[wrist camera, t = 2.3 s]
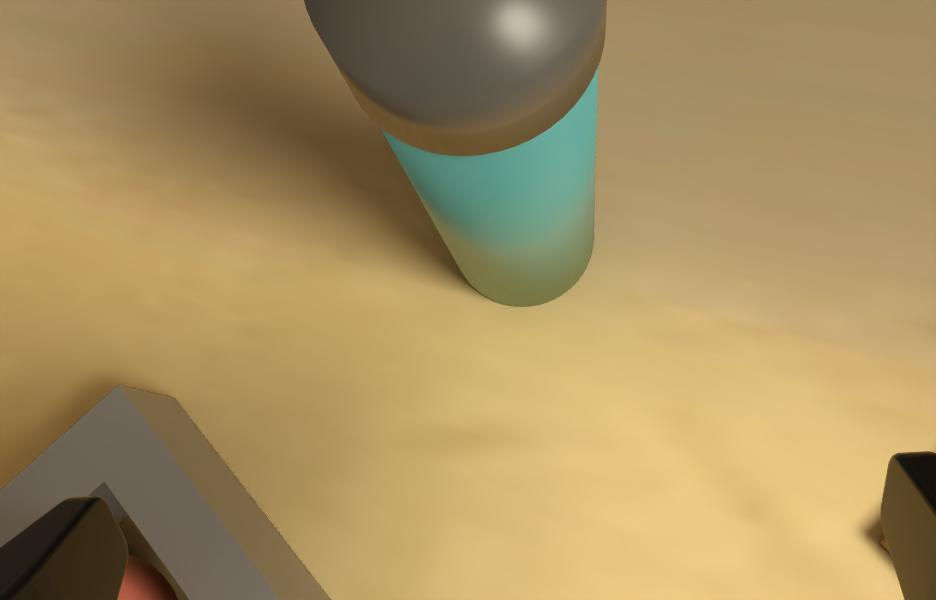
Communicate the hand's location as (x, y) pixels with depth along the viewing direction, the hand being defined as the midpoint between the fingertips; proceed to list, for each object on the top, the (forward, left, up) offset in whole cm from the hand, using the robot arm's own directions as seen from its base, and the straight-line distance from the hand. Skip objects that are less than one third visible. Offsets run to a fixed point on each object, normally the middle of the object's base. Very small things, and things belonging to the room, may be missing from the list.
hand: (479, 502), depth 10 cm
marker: (+5, +6, -13) cm, 15 cm away
